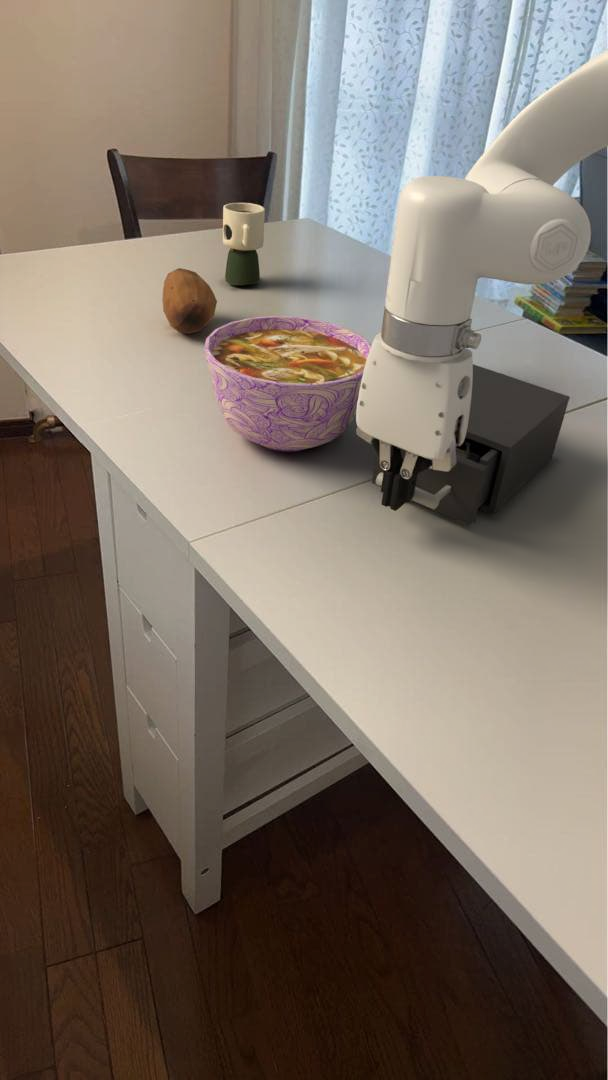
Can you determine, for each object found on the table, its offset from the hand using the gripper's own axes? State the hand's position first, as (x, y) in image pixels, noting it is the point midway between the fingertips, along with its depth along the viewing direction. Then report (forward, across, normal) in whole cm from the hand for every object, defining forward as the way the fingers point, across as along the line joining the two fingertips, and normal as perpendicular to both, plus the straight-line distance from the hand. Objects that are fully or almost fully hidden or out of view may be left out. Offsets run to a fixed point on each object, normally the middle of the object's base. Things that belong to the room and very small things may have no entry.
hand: (395, 502), depth 82 cm
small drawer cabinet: (+4, 0, -19) cm, 19 cm away
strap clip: (+2, 0, -13) cm, 13 cm away
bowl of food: (+4, +21, -9) cm, 23 cm away
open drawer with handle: (+3, 0, -11) cm, 12 cm away
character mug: (+4, +61, -48) cm, 78 cm away
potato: (+4, +53, -26) cm, 59 cm away
